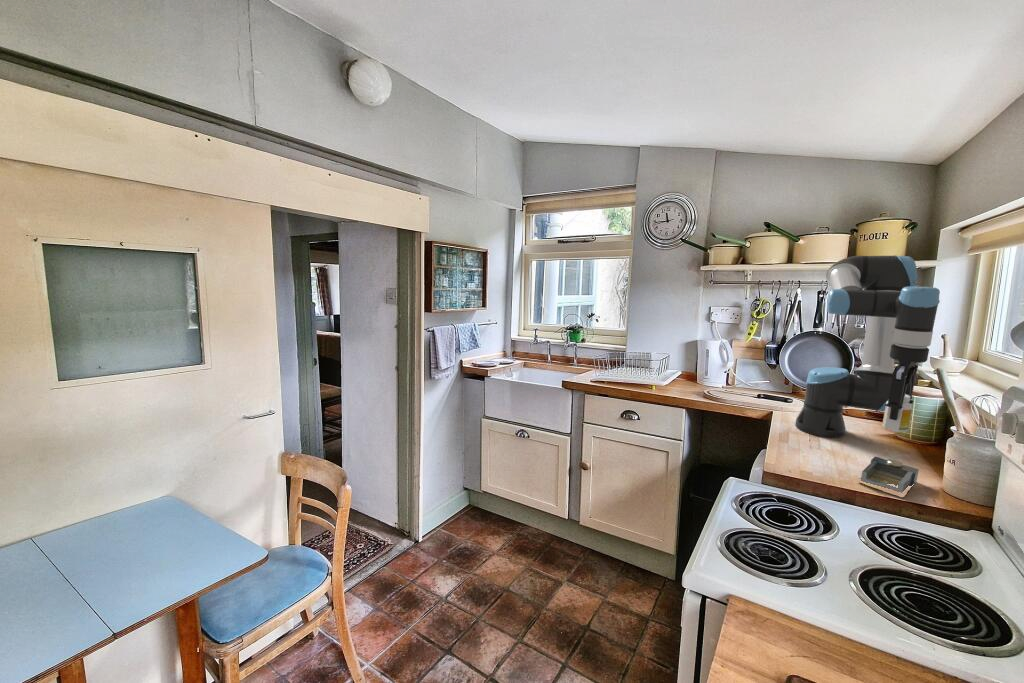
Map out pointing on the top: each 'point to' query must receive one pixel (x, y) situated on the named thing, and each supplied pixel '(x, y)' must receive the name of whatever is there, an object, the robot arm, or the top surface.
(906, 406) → the supplement bottle
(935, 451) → the top surface
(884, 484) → the tray
